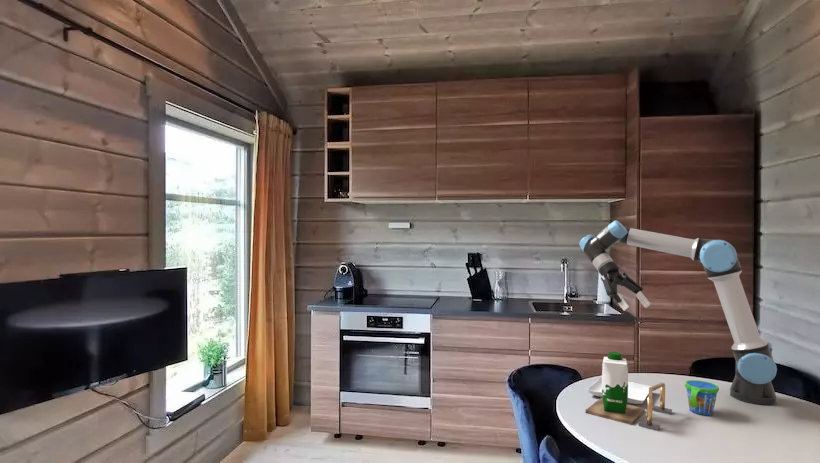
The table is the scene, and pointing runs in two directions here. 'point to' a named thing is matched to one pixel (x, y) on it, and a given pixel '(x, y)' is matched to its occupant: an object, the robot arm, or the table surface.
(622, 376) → the soya milk
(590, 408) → the walnut board
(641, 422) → the copper wire
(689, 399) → the snack cup
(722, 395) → the table surface
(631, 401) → the salad plate
